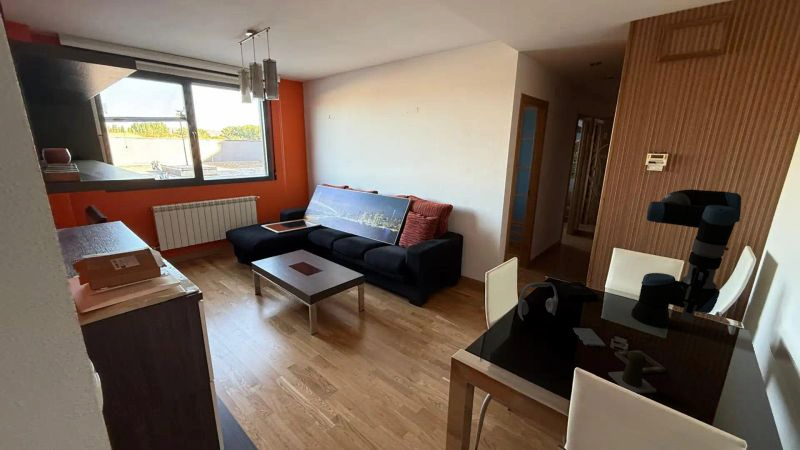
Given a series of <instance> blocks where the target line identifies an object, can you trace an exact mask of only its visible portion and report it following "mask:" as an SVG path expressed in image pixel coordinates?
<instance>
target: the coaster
mask: <svg viewBox="0 0 800 450" xmlns="http://www.w3.org/2000/svg"><path fill="white" fill-rule="evenodd" d="M624 371H625V370H624ZM624 371H623V370H622V371H609V372H608V373H607V375H608V376H609V377H610V378H611V379H612V380H614V382H616V384H618V385H619V386H620V387H621V386H622V387H625V388H627V389H629V390H631V391H633V392H636V393H638V394H639V395H641V394H652V393H657V389H656V388H655V387H654V386H652V385H651V384H650V383H649V382H647V381H646V380H645V379H644V378H643V377H642V386H641V387H633V386H630V385H628V384H626V383H625V382H624V381H623V380H622V375H623V373H624ZM622 387H621V388H622ZM638 394H637V395H638Z"/></svg>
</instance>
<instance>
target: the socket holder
mask: <svg viewBox="0 0 800 450" xmlns="http://www.w3.org/2000/svg"><path fill="white" fill-rule="evenodd" d="M632 351H633V350H625V351H614V355H615V356H616V357H617V358H618V359H619V360H620V361H621V362H623V363H624V364H625V365H627V363H628V361H629V360H628V353H630V352H632ZM634 351H635V352H639V353H641V354H642V355H644V356H645V358H646V362H648V363H650V365H652V366H649V367H643V374H651V373H653V374H654V373H664V372H665V373H666V370H667V369H666V368H665V367H664V366H662V365H661V364H660V363H658V362H657V361H656V360H654V359H653V358H652V357H651V356H649V355H647V353H645V352H644V351H642V350H640V349H639V350H634Z"/></svg>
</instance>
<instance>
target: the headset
mask: <svg viewBox="0 0 800 450" xmlns="http://www.w3.org/2000/svg"><path fill="white" fill-rule="evenodd" d="M550 286H551V288H552V287H553V288H552V289H553V294H554V296H553V297H549V298H547V300H545V308H546V311H547V313H550V314H552V315H553V316H554V317H555V316H556V313H557V308H558V303H559V297H558V292H557V290H556V288H555V286H554V285H553V283H552V282H545V281H542V282H541V281H538V282H537V281H536V282H531V283H528V284H526V285H525V286H524V287H523V289H521V293H520V295H519V298H518V301H517V315H518V316H519V318H520V319H521V321H522V322H523V321H524V317H523V316H526V315H527V314H528V313H529V305H528V303H527V302H528V301H526V300H525V299H523V297H524V295H525V293H526V291H527V290H528V289H529V288H548V287H550Z"/></svg>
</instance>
